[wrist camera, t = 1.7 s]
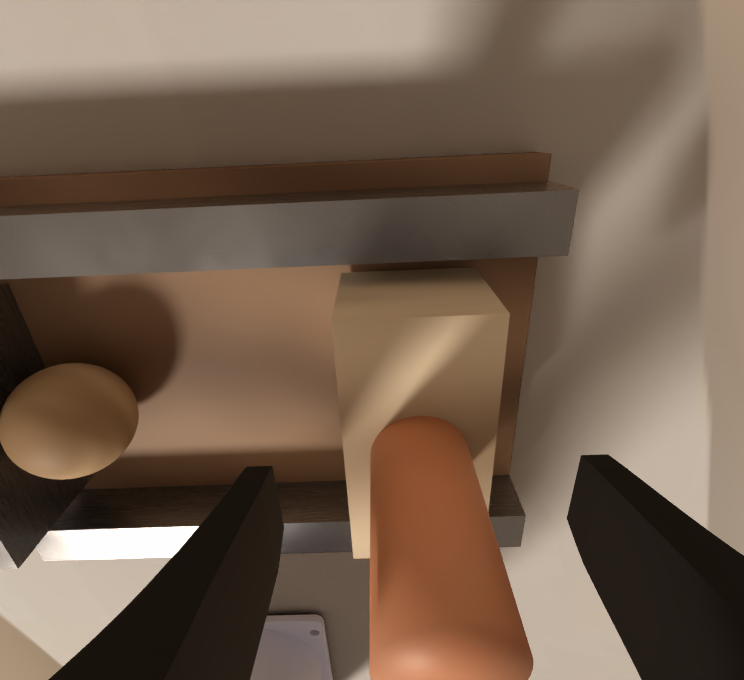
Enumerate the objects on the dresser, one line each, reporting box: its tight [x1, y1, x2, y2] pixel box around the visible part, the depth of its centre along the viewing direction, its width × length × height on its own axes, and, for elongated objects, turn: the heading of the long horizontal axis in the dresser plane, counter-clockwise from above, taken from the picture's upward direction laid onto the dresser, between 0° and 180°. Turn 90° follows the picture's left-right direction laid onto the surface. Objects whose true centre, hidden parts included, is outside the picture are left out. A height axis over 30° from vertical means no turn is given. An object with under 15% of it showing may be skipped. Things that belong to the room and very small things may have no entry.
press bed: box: [0, 152, 579, 569], centre depth 14 cm, size 14×20×5 cm
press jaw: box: [331, 267, 533, 680], centre depth 11 cm, size 8×4×9 cm, turn 2°
